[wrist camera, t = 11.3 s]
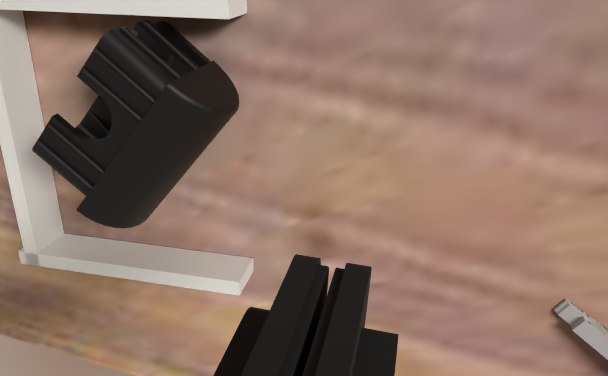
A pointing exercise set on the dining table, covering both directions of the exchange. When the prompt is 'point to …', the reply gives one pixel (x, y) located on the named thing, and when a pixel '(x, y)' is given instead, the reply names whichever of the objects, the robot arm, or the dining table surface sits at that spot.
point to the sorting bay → (39, 176)
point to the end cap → (139, 122)
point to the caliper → (584, 326)
